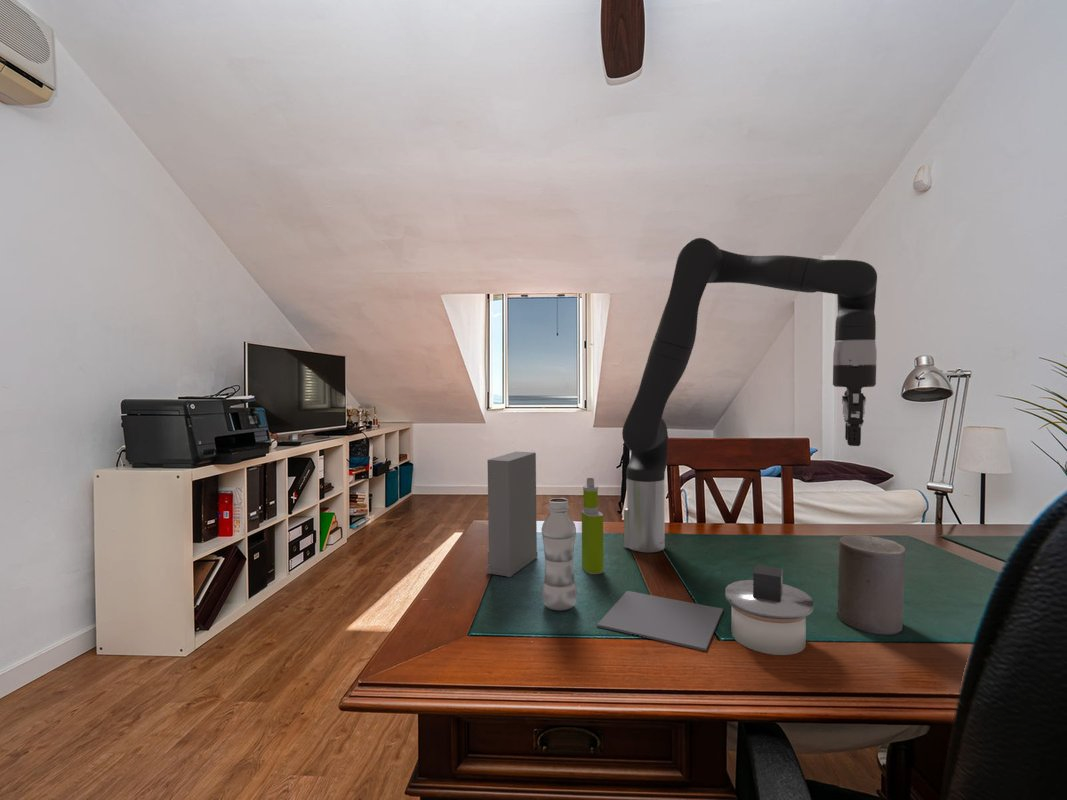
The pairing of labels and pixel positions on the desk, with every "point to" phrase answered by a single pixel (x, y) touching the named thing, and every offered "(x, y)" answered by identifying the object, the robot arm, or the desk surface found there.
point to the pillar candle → (871, 584)
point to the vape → (592, 530)
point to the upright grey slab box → (511, 512)
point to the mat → (663, 619)
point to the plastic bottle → (559, 557)
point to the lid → (769, 596)
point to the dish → (769, 633)
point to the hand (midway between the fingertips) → (852, 443)
